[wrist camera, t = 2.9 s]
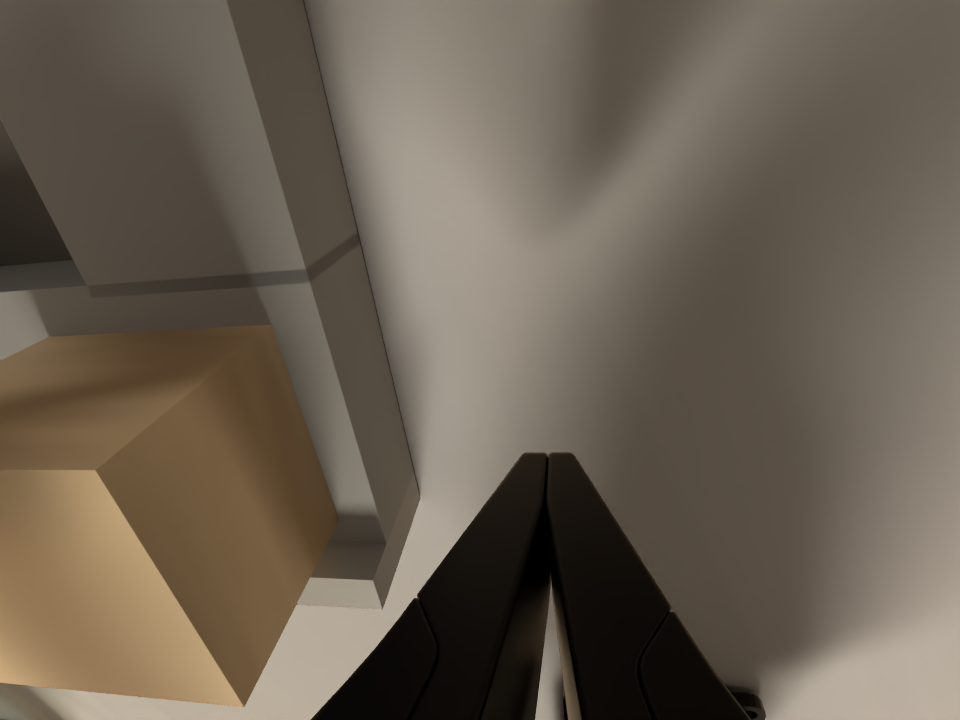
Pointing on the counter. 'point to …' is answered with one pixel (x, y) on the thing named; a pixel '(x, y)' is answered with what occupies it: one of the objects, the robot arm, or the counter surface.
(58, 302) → the trap board
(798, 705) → the counter surface
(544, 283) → the counter surface
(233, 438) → the block
